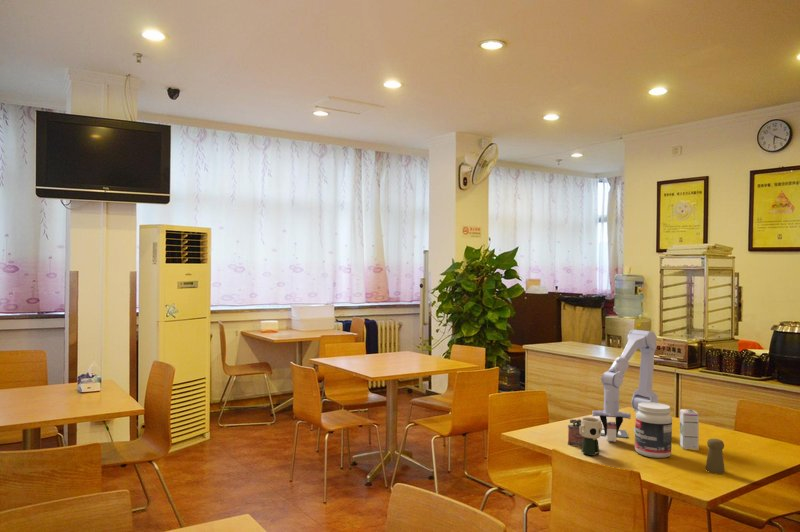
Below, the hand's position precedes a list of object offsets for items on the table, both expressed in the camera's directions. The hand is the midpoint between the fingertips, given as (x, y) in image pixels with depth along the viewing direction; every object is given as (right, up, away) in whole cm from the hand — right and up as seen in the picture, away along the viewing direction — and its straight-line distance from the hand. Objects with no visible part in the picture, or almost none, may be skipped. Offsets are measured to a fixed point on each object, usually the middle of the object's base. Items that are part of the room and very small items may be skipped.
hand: (610, 435), depth 241 cm
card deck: (0, -2, 0) cm, 2 cm away
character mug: (-14, -2, -18) cm, 23 cm away
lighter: (-15, -2, -6) cm, 17 cm away
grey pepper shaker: (+24, -3, -34) cm, 42 cm away
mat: (+3, -2, +12) cm, 12 cm away
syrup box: (+28, -3, -7) cm, 29 cm away
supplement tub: (+10, -3, -16) cm, 19 cm away
